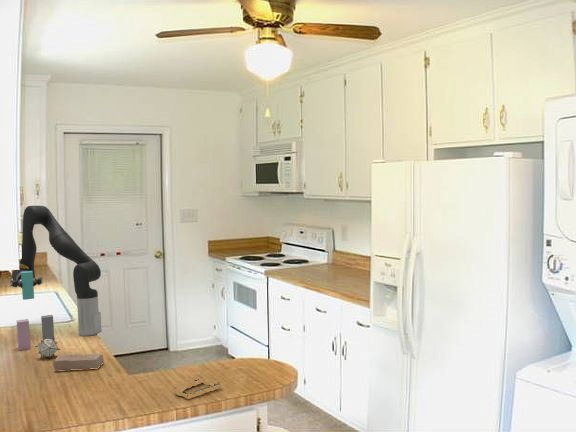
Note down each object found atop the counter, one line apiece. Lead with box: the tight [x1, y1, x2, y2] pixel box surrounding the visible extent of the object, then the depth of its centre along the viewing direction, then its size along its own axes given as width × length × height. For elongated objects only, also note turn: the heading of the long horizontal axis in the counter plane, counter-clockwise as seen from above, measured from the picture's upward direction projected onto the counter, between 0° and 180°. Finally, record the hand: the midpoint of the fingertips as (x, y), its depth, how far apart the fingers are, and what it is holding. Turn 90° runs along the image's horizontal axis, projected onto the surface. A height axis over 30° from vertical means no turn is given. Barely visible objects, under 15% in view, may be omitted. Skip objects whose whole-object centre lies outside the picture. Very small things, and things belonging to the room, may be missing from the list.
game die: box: [34, 337, 61, 360], centre depth 232 cm, size 9×8×10 cm
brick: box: [52, 353, 104, 370], centre depth 218 cm, size 17×8×5 cm, turn 93°
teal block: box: [21, 271, 35, 300], centre depth 259 cm, size 4×4×12 cm
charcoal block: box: [40, 314, 56, 342], centre depth 255 cm, size 4×4×12 cm
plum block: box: [16, 318, 31, 351], centre depth 248 cm, size 4×4×12 cm
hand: (28, 284), depth 257 cm, fingers closed on teal block, 4 cm apart
